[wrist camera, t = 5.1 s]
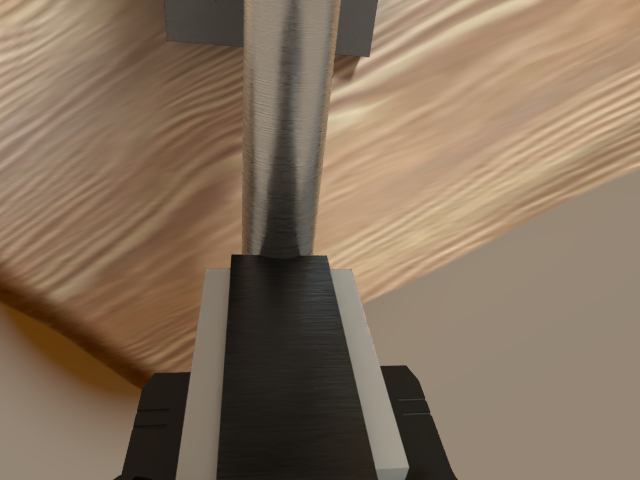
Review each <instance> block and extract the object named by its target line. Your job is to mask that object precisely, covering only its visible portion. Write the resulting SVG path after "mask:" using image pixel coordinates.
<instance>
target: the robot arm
mask: <svg viewBox="0 0 640 480" xmlns="http://www.w3.org/2000/svg"><path fill="white" fill-rule="evenodd" d="M230 270H231V268H206V270H205V277H204V284H203V291H202V298H201V305H200V312H199V319H198V326H197V333H196V340H195V347H194V354H193V361H192V368H191V372H179V373H154V375H153V376H152V377H151V379H150V380H149V382H148V383H147V384H146V386H145V387H144V388H143V390H142V392H141V397H140V401H139V405H138V409H137V414H136V417H135V421H134V427H133V430H132V434H131V438H130V442H129V446H128V450H127V454H126V458H125V462H124V466H123V471H122V475H120V476H118V477H116V478H115V479H114V480H216V474H217V459H218V445H219V430H220V416H221V401H222V387H223V372H224V357H225V343H226V328H227V314H228V299H229V285H230ZM330 272H331V276H332V281H333V285H334V289H335V294H336V298H337V302H338V307H339V311H340V315H341V320H342V324H343V329H344V333H345V337H346V342H347V346H348V350H349V355H350V359H351V363H352V368H353V372H354V377H355V381H356V385H357V390H358V394H359V398H360V403H361V407H362V411H363V416H364V420H365V424H366V429H367V433H368V438H369V442H370V446H371V451H372V455H373V459H374V464H375V468H376V472H377V477H378V480H458V479H457V478H456V477H455V475H454V473H453V471H452V469H451V467H450V464H449V461H448V459H447V456H446V453H445V450H444V448H443V445H442V442H441V440H440V437H439V434H438V431H437V429H436V426H435V423H434V421H433V418H432V416H431V415H430V410H429V407H428V404H427V402H426V401H425V396H424V393H423V391H422V388H421V385H420V383H419V381H418V379H417V378H416V377H415V376H414V374H413V373H412V372H411V371H410V370H409V368H408V367H407V366H404V365H403V366H380V365H379V362H378V359H377V355H376V351H375V348H374V345H373V341H372V338H371V334H370V331H369V327H368V324H367V320H366V317H365V313H364V310H363V306H362V303H361V300H360V296H359V293H358V289H357V286H356V282H355V279H354V275H353V272H352V269H330Z"/></svg>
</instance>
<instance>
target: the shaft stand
mask: <svg viewBox="0 0 640 480" xmlns="http://www.w3.org/2000/svg"><path fill="white" fill-rule="evenodd" d="M377 2H378V0H341V3H340V12H339V21H338V30H337V39H336V49H335V54H338V55H350V56H363V57H369V56H370V49H371V42H372V36H373V29H374V22H375V16H376V9H377ZM164 5H165V18H166V31H167V41H176V42H189V43H201V44H213V45H226V46H238V47H243V41H244V0H164Z"/></svg>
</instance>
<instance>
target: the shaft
mask: <svg viewBox="0 0 640 480" xmlns="http://www.w3.org/2000/svg"><path fill="white" fill-rule="evenodd" d="M340 3H341V0H244V41H243V173H242V255H231V270H230V285H229V299H228V314H227V328H226V343H225V357H224V372H223V387H222V401H221V416H220V430H219V445H218V459H217V474H216V480H378V477H377V472H376V468H375V464H374V459H373V455H372V451H371V446H370V442H369V438H368V433H367V429H366V424H365V420H364V416H363V411H362V407H361V403H360V398H359V394H358V390H357V385H356V381H355V377H354V372H353V368H352V363H351V359H350V355H349V350H348V346H347V342H346V337H345V333H344V329H343V324H342V320H341V315H340V311H339V307H338V302H337V298H336V294H335V289H334V285H333V281H332V276H331V272H330V267H329V263H328V259H327V256H314V255H313V248H314V239H315V230H316V221H317V212H318V203H319V194H320V185H321V176H322V167H323V158H324V148H325V139H326V130H327V121H328V112H329V103H330V94H331V85H332V76H333V67H334V58H335V49H336V39H337V30H338V21H339V12H340Z"/></svg>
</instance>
